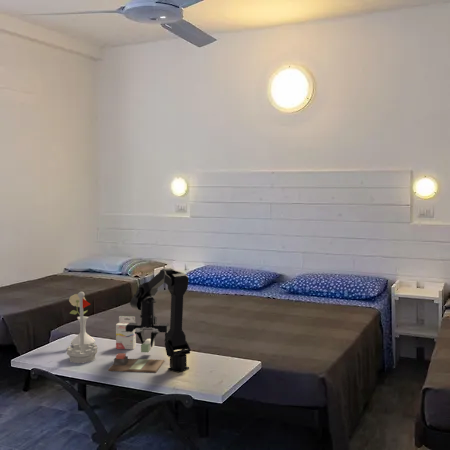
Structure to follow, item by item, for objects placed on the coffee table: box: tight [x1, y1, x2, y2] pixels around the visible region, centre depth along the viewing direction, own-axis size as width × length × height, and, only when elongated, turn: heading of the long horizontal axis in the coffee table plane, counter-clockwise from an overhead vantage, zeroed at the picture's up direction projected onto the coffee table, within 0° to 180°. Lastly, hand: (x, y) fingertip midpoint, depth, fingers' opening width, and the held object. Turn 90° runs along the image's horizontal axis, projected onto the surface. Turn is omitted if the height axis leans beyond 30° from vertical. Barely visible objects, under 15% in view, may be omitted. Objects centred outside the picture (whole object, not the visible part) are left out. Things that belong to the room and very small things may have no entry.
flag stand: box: [66, 291, 98, 364], centre depth 247 cm, size 13×13×30 cm
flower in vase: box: [68, 293, 96, 347], centre depth 269 cm, size 13×11×25 cm
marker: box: [140, 338, 155, 354], centre depth 251 cm, size 11×3×3 cm, turn 173°
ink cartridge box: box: [115, 315, 137, 350], centre depth 266 cm, size 9×5×15 cm, turn 84°
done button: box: [115, 352, 127, 359], centre depth 238 cm, size 3×3×2 cm
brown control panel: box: [107, 355, 165, 373], centre depth 237 cm, size 20×15×3 cm
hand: (147, 346), depth 251 cm, fingers closed on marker, 3 cm apart
